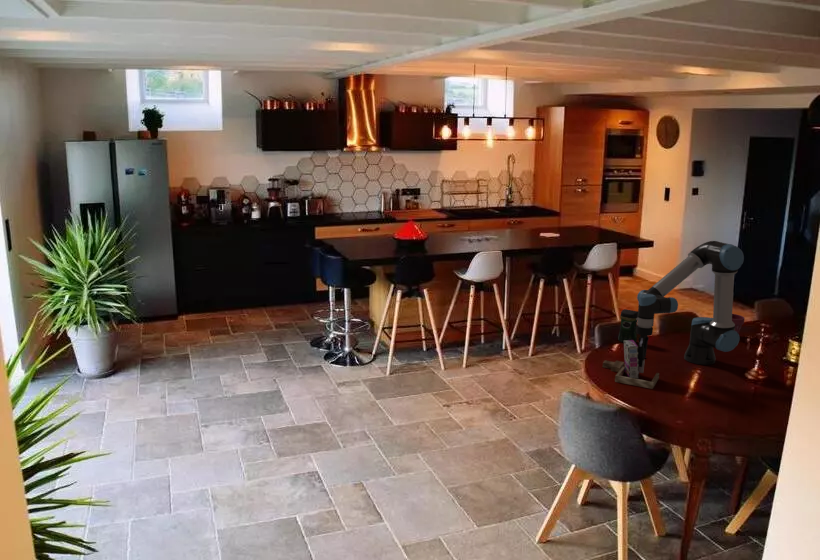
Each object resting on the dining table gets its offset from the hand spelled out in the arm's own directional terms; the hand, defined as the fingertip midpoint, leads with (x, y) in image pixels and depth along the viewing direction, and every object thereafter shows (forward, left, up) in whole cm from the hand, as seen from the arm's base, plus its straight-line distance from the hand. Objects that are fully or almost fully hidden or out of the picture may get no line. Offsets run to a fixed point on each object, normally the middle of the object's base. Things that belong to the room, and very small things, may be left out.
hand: (640, 372), depth 336 cm
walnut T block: (+14, -5, -2) cm, 15 cm away
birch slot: (0, +6, -2) cm, 7 cm away
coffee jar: (+18, -54, -2) cm, 57 cm away
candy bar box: (+3, +2, -2) cm, 4 cm away
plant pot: (-31, -97, -2) cm, 101 cm away
